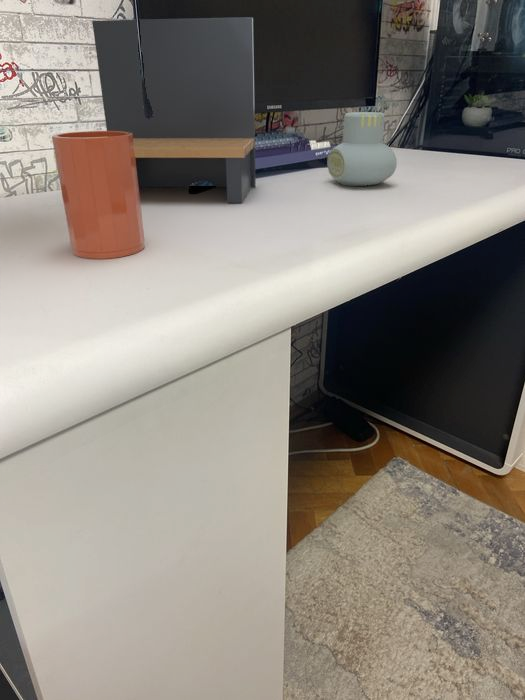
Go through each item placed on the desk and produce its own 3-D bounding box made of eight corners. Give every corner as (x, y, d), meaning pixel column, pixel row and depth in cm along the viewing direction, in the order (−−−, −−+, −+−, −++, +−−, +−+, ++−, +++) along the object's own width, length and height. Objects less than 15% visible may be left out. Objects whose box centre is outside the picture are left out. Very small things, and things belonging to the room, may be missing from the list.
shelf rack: (84, 202, 72) (53, 11, 62) (116, 185, 84) (95, 21, 74) (245, 204, 70) (240, 6, 60) (255, 185, 82) (253, 18, 72)
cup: (60, 258, 50) (37, 138, 45) (88, 238, 56) (71, 130, 51) (132, 259, 49) (117, 138, 44) (152, 239, 55) (141, 130, 51)
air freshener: (322, 178, 87) (325, 111, 82) (369, 176, 89) (374, 110, 84) (348, 191, 77) (353, 116, 73) (400, 188, 79) (408, 114, 75)
